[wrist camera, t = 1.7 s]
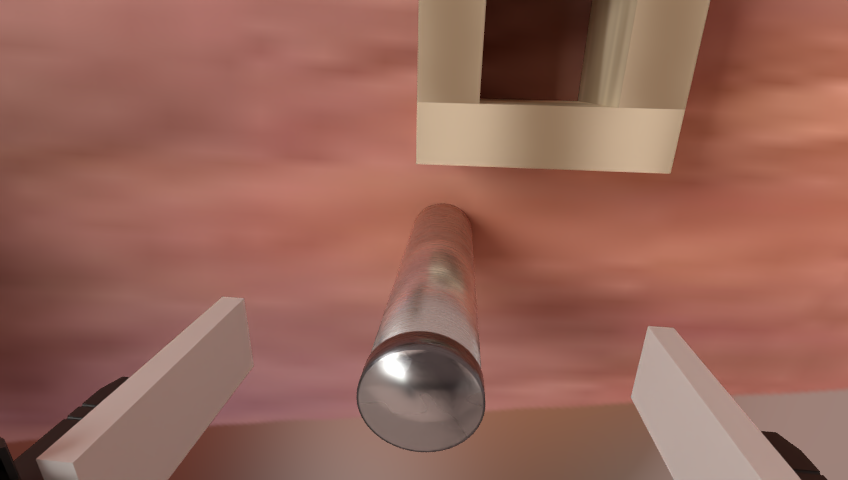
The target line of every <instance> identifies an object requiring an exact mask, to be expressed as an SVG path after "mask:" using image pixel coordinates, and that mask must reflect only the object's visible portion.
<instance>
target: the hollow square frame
mask: <svg viewBox="0 0 848 480" xmlns="http://www.w3.org/2000/svg"><path fill="white" fill-rule="evenodd" d="M709 4H710V0H592V4H591V11H590V18H589V25H588V32H587V39H586V46H585V53H584V60H583V67H582V74H581V81H580V88H579V95H578V101H557V100H520V99H482V98H480V86H481V71H482V55H483V40H484V25H485V9H486V0H419V14H418V76H417V138H416V164H429V165H455V166H481V167H508V168H534V169H561V170H587V171H613V172H640V173H666V174H671V169H672V165H673V160H674V156H675V152H676V147H677V143H678V139H679V134H680V130H681V126H682V121H683V117H684V113H685V108H686V104H687V100H688V95H689V91H690V86H691V82H692V78H693V73H694V69H695V65H696V60H697V56H698V52H699V47H700V43H701V39H702V34H703V30H704V26H705V21H706V17H707V12H708V8H709Z"/></svg>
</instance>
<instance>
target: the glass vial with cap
mask: <svg viewBox="0 0 848 480" xmlns="http://www.w3.org/2000/svg"><path fill="white" fill-rule="evenodd" d="M357 405H358V409H359V412H360V414H361V416H362V418H363V420H364V421H365V423H366V424H367V426H368V427H369V428H370V429H371V430H372V431H373V432H374V433H375V434H376V435H377V436H379V437H380V438H381V439H383V440H384V441H386V442H388V443H390V444H392V445H394V446H396V447H399V448H402V449H406V450H410V451H416V452H436V451H441V450H445V449H449V448H452V447H454V446H457V445H458V444H460V443H462V442H464V441H465V440H466V439H467V438H469V437H470V436H471V435H472V434H473V433H474V432H475V431H476V429H477V428H478V427H479V425H480V423H481V421H482V418H483V416H484V411H485V392H484V380H483V374H482V371H481V360H480V345H479V331H478V316H477V301H476V286H475V272H474V257H473V242H472V229H471V224H470V221H469V219H468V217H467V216H466V215H465V213H464V212H462V211H461V210H460V209H459V208H457V207H455V206H452V205H449V204H435V205H432V206H429V207H427V208H426V209H424V210H423V211H422V212H421V213H420V214H419V215H418V217H417V218H416V220H415V223H414V226H413V229H412V232H411V235H410V238H409V241H408V244H407V246H406V249H405V252H404V255H403V258H402V261H401V264H400V267H399V270H398V273H397V276H396V279H395V282H394V285H393V288H392V291H391V294H390V297H389V300H388V303H387V306H386V309H385V312H384V315H383V318H382V321H381V324H380V327H379V330H378V333H377V336H376V339H375V342H374V345H373V348H372V351H371V354H370V355H369V357H368V359H367V361H366V364H365V366H364V369H363V372H362V375H361V378H360V381H359V384H358V388H357Z"/></svg>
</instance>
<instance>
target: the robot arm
mask: <svg viewBox="0 0 848 480" xmlns="http://www.w3.org/2000/svg"><path fill="white" fill-rule="evenodd" d="M253 366H254V364H253V357H252V350H251V343H250V336H249V329H248V322H247V315H246V308H245V301H244V298H236V297H221V298H220V299H219V300H218V301H217V302H216V303H215V304H213V305H212V306H211V307H210V308H209V309H208V310H206V311H205V312H204V313H203V314H202V315H201V316H200V317H198V318H197V319H196V320H195V321H194V322H193V323H192V324H190V325H189V326H188V327H187V328H186V329H185V330H184V331H182V332H181V333H180V334H179V335H178V336H177V337H175V338H174V339H173V340H172V341H171V342H170V343H169V344H167V345H166V346H165V347H164V348H163V349H162V350H161V351H159V352H158V353H157V354H156V355H155V356H154V357H153V358H151V359H150V360H149V361H148V362H147V363H146V364H144V365H143V366H142V367H141V368H140V369H139V370H138V371H136V372H135V373H134V374H133V375H132V376H131V377H121V378H119V379H118V380H116V381H114V382H112V383H110V384H108V385H106V386H105V387H103V388H101V389H100V390H98V391H97V392H96V393H95V394H94V395H92V396H91V397H90V398H89V399H88V400H86V401H85V402H84V403H83V405H82V407H78V408H77V409H76V410H74V411H73V412H72V413H71V414H70V415H68V418H67V419H64V420H62V421H61V422H60V423H59V424H58V425H56V426H55V427H54V428H53V429H51V430H50V431H49V432H48V433H47V434H45V435H44V436H43V437H42V438H41V439H39V440H38V441H37V442H36V443H35V444H33V445H32V446H31V447H30V448H29V449H28V450H26V451H25V452H24V453H23V454H21V455H20V456H19V457H18V458H17V459H15V460H14V461H13V459H12V457H11V454H10V452H9V449H8V447H7V444H6V442H5V440H4V439H3V438H1V437H0V480H168V479H169V477H170V476H171V475H172V474H173V472H174V471H175V470H176V468H177V467H178V466H179V464H180V463H181V461H182V460H183V459H184V458H185V456H186V455H187V454H188V452H189V451H190V450H191V448H192V447H193V446H194V444H195V443H196V442H197V440H198V439H199V438H200V437H201V435H202V434H203V432H204V431H205V430H206V429H207V427H208V426H209V425H210V423H211V422H212V421H213V419H214V418H215V417H216V415H217V414H218V413H219V411H220V410H221V409H222V407H223V406H224V405H225V403H226V402H227V401H228V400H229V398H230V397H231V396H232V394H233V393H234V392H235V390H236V389H237V388H238V386H239V385H240V384H241V382H242V381H243V380H244V378H245V377H246V376H247V374H248V373H249V372H250V370H251V369H252V368H253ZM631 399H632V400H633V402H634V404H635V406H636V408H637V410H638V412H639V414H640V416H641V418H642V420H643V422H644V424H645V426H646V427H647V429H648V431H649V433H650V435H651V437H652V439H653V441H654V443H655V445H656V447H657V449H658V451H659V453H660V454H661V456H662V458H663V460H664V462H665V464H666V466H667V468H668V470H669V472H670V474H671V476H672V478H673V480H827V479H826V478H825V477H824V476H823V475H820V471H819V470H818V469H817V468H816V467H815V466H814V464H813V463H812V462H811V461H810V460H809V459H808V458H807V457H806V456H805V455H804V453H802V451H801V450H799V449H798V448H797V447H795V446H794V445H793V444H791V443H790V442H788V441H787V440H786V439H784V438H783V437H782V436H780V435H779V434H778V433H776V432H765V431H760V430H759V429H758V428H757V426H756V425H755V424H754V423H753V422H752V420H750V418H749V417H748V416H747V415H746V413H745V412H744V411H743V410H742V409H741V408H740V407H739V405H738V404H737V403H736V401H735V400H734V399H733V398H732V397H731V395H730V394H729V393H728V392H727V391H726V390H725V388H724V387H723V386H722V385H721V384H720V382H719V381H718V380H717V379H716V378H715V376H714V375H713V374H712V373H711V372H710V371H709V369H708V368H707V367H706V366H705V365H704V363H703V362H702V361H701V360H700V359H699V357H698V356H697V355H696V354H695V353H694V351H693V350H692V349H691V348H690V347H689V346H688V344H687V343H686V342H685V341H684V340H683V338H682V337H681V336H680V335H679V334H678V332H677V331H676V330H675V329H674V328H669V327H655V326H648V328H647V332H646V336H645V341H644V345H643V349H642V353H641V357H640V361H639V366H638V370H637V374H636V378H635V382H634V386H633V390H632V395H631Z"/></svg>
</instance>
